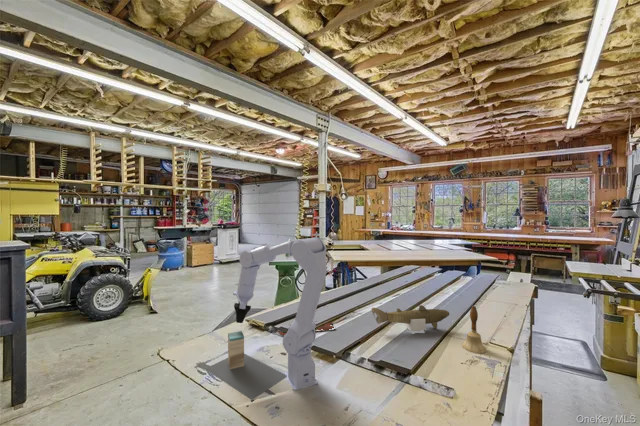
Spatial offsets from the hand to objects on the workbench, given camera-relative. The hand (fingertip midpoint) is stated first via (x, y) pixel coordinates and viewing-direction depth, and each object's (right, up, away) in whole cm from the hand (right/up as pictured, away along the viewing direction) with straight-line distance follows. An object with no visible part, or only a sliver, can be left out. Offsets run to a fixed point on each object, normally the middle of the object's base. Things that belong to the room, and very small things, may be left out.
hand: (240, 316), depth 105 cm
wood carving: (+68, -13, +19) cm, 72 cm away
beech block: (+1, -13, -8) cm, 16 cm away
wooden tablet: (+22, -14, +22) cm, 34 cm away
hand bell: (+88, -14, +4) cm, 89 cm away
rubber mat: (+5, -14, -13) cm, 20 cm away
